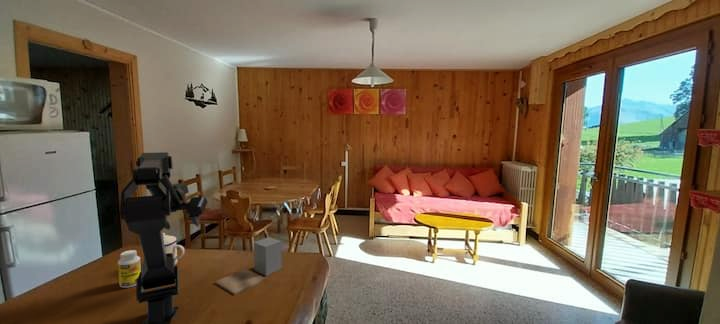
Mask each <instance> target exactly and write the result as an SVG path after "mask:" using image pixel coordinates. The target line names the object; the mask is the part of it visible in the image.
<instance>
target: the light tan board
mask: <svg viewBox="0 0 720 324" xmlns="http://www.w3.org/2000/svg"><path fill="white" fill-rule="evenodd" d="M266 280H267V278H266V277H264V276H262V275H261V274H258V273H257V272H256V273H255V272H253V271H252V270H249V269H247V268H244V269H242V270H239V271H237V272H234V273H232V274H230V275H227V276H224V277H222V278H220V279H218V280H216V281H214V284H215V285H216V286H219V287H221V289H224V290H226V291H227V292H229V293H230V294H232V295H234V296H235V295H238V294H240V293H242V292H245V291H246V290H249V289H250V288H253V287H254V286H257V285H259V284H261V283H263V282H265V281H266Z"/></svg>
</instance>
